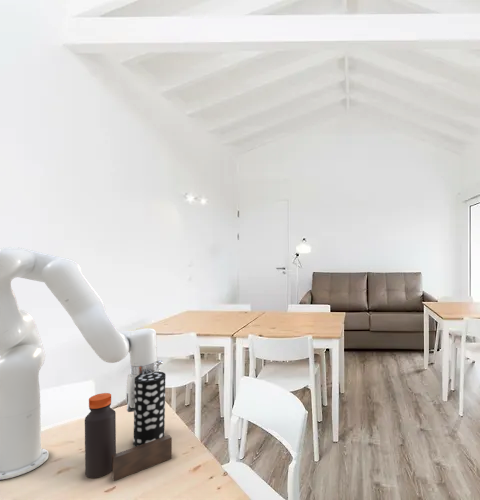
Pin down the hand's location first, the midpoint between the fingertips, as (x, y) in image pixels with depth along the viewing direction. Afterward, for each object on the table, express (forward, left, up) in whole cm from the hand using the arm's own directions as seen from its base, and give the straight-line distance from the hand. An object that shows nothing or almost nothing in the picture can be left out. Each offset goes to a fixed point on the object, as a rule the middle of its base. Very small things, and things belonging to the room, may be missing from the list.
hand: (147, 424), depth 114 cm
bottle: (-14, -13, -3) cm, 19 cm away
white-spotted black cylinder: (-1, -5, -3) cm, 6 cm away
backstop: (-6, -19, -3) cm, 20 cm away
